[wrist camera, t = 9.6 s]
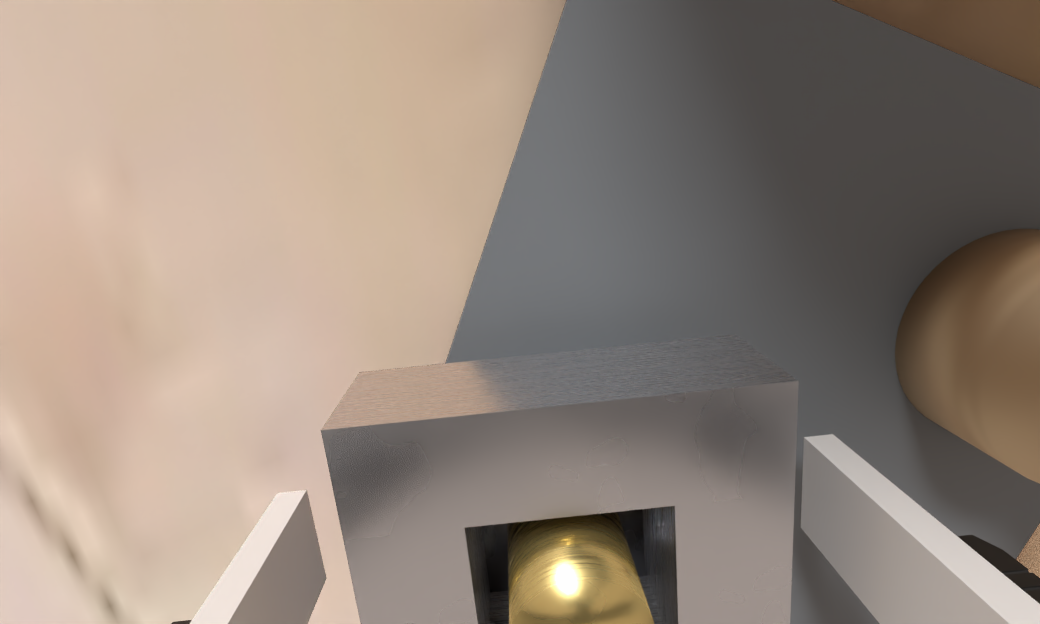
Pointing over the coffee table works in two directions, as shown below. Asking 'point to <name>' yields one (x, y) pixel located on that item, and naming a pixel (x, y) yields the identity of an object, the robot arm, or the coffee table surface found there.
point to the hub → (570, 569)
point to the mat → (765, 223)
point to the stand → (979, 347)
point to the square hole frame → (571, 475)
